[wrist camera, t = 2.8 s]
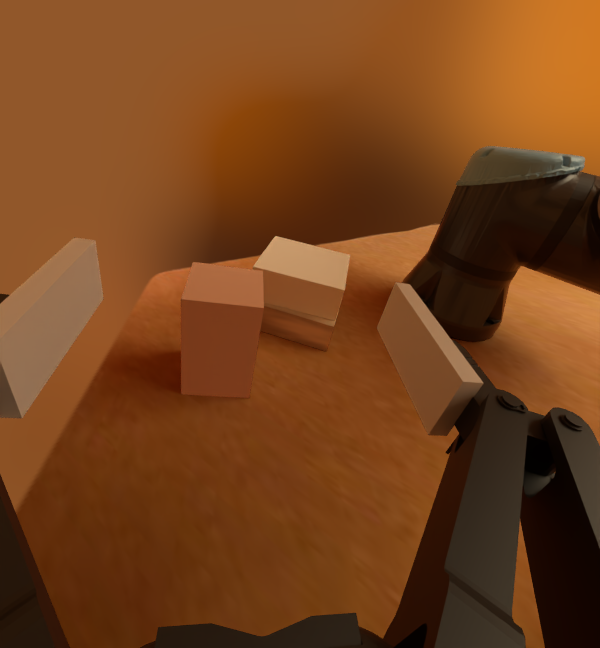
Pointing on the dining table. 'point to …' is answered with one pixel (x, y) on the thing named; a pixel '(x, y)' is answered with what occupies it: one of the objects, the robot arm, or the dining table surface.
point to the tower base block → (297, 326)
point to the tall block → (220, 330)
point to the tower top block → (303, 277)
